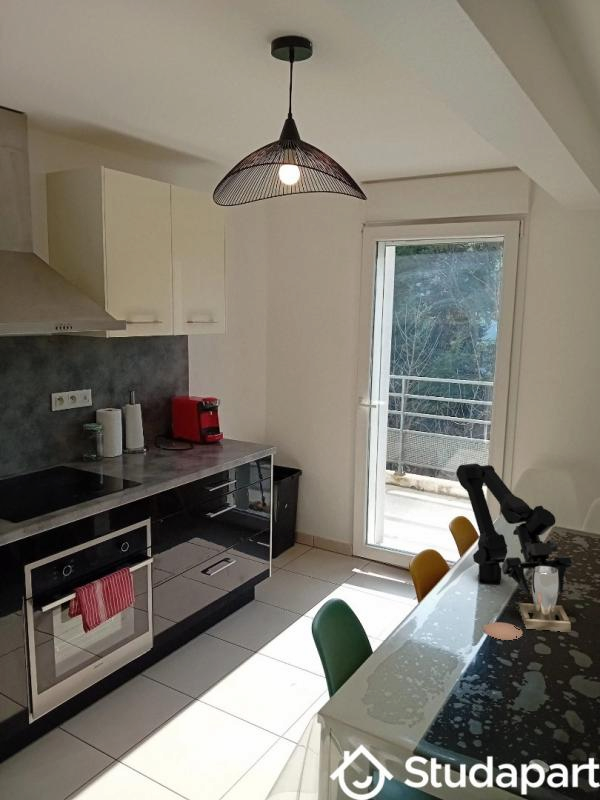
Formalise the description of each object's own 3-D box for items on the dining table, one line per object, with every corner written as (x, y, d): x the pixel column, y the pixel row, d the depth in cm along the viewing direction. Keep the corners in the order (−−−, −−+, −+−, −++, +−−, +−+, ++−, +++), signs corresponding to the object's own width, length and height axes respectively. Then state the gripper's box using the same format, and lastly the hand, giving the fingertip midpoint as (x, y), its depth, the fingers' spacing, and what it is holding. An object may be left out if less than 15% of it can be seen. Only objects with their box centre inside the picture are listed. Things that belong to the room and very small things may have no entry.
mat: (485, 639, 167) (485, 638, 167) (482, 622, 177) (482, 621, 177) (525, 641, 165) (525, 640, 165) (519, 624, 175) (519, 623, 175)
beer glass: (529, 624, 175) (530, 571, 174) (532, 614, 181) (533, 563, 180) (556, 629, 172) (557, 576, 170) (558, 618, 178) (560, 567, 177)
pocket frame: (526, 629, 172) (526, 620, 172) (519, 611, 183) (519, 603, 183) (570, 632, 170) (570, 623, 170) (561, 613, 181) (561, 605, 181)
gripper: (505, 530, 179) (519, 583, 169) (571, 528, 180) (588, 581, 170) (496, 548, 188) (508, 599, 178) (558, 546, 188) (574, 597, 178)
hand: (545, 594), depth 176 cm, fingers open, 9 cm apart
